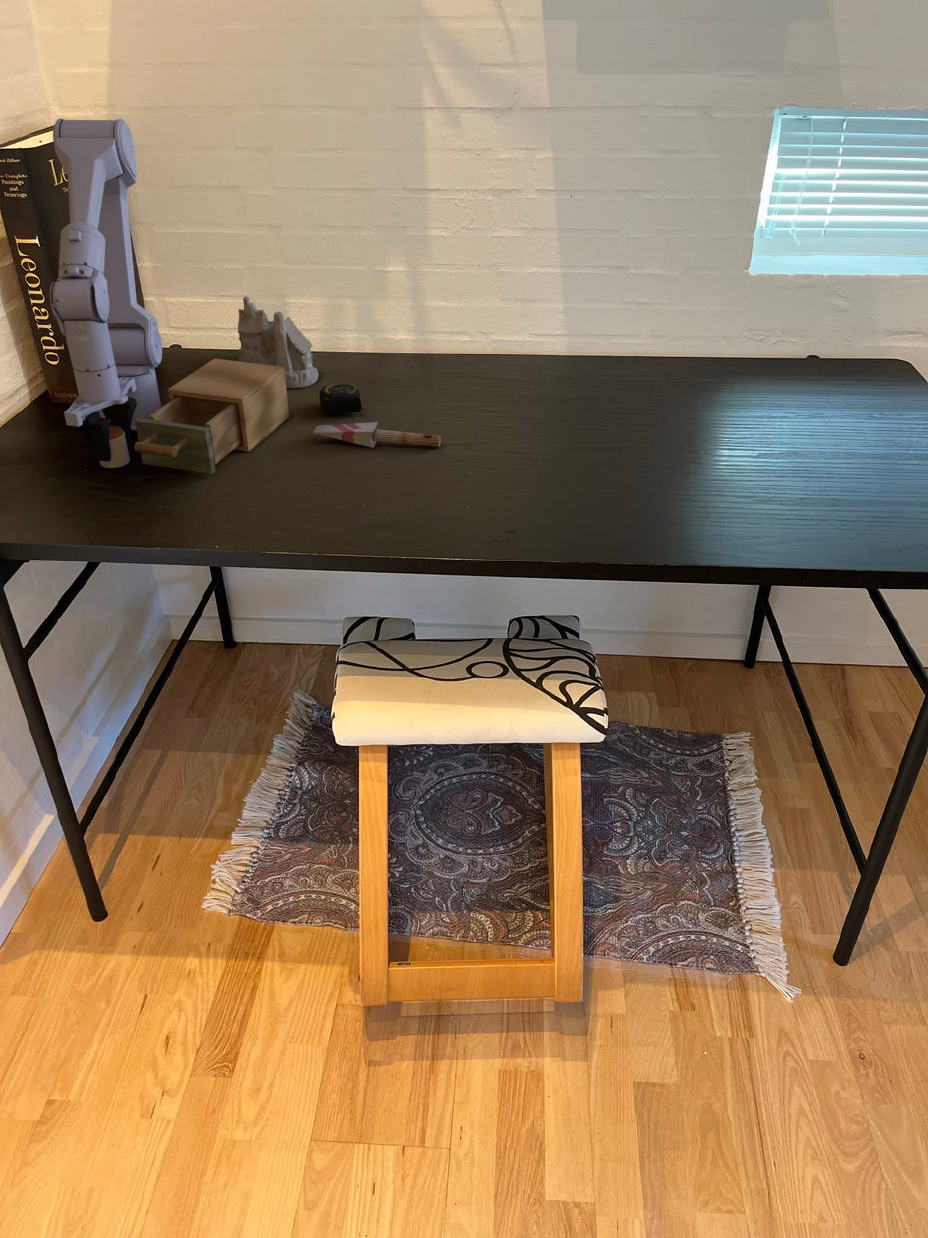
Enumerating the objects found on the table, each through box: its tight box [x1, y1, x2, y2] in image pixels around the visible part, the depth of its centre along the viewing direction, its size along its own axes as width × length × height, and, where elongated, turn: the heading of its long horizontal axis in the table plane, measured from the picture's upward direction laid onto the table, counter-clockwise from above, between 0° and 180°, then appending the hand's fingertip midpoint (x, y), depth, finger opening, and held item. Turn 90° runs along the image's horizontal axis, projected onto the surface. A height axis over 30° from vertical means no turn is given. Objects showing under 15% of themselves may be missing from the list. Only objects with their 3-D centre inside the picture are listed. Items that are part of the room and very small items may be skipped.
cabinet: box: [167, 358, 290, 453], centre depth 152 cm, size 15×13×9 cm
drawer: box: [133, 396, 243, 475], centre depth 141 cm, size 18×11×7 cm, turn 164°
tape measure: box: [319, 382, 363, 415], centre depth 160 cm, size 7×7×4 cm
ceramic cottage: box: [237, 296, 319, 389], centre depth 172 cm, size 16×16×15 cm
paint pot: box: [98, 426, 131, 469], centre depth 142 cm, size 4×4×5 cm
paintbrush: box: [312, 421, 442, 449], centre depth 149 cm, size 4×3×20 cm
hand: (113, 453), depth 142 cm, fingers closed on paint pot, 4 cm apart
